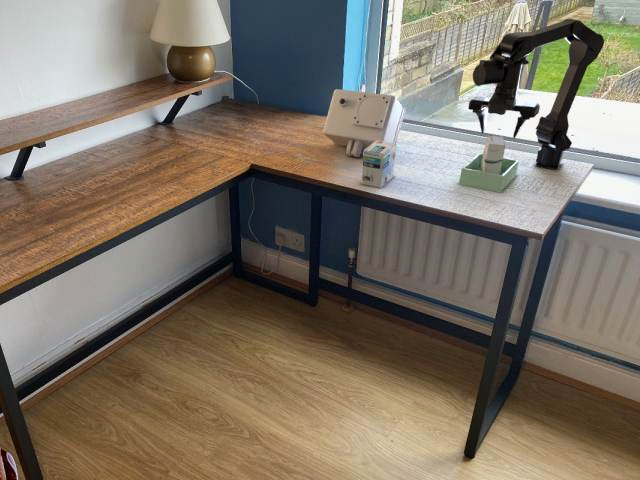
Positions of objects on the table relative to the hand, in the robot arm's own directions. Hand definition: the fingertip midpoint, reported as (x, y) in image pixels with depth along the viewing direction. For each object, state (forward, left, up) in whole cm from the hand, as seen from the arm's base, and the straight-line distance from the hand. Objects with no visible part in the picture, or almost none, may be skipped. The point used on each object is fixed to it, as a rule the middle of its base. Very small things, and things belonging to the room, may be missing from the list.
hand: (498, 135), depth 178 cm
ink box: (-1, +4, -12) cm, 13 cm away
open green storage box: (0, +4, -13) cm, 13 cm away
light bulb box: (+28, +22, -13) cm, 38 cm away
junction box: (+45, 0, -13) cm, 46 cm away
